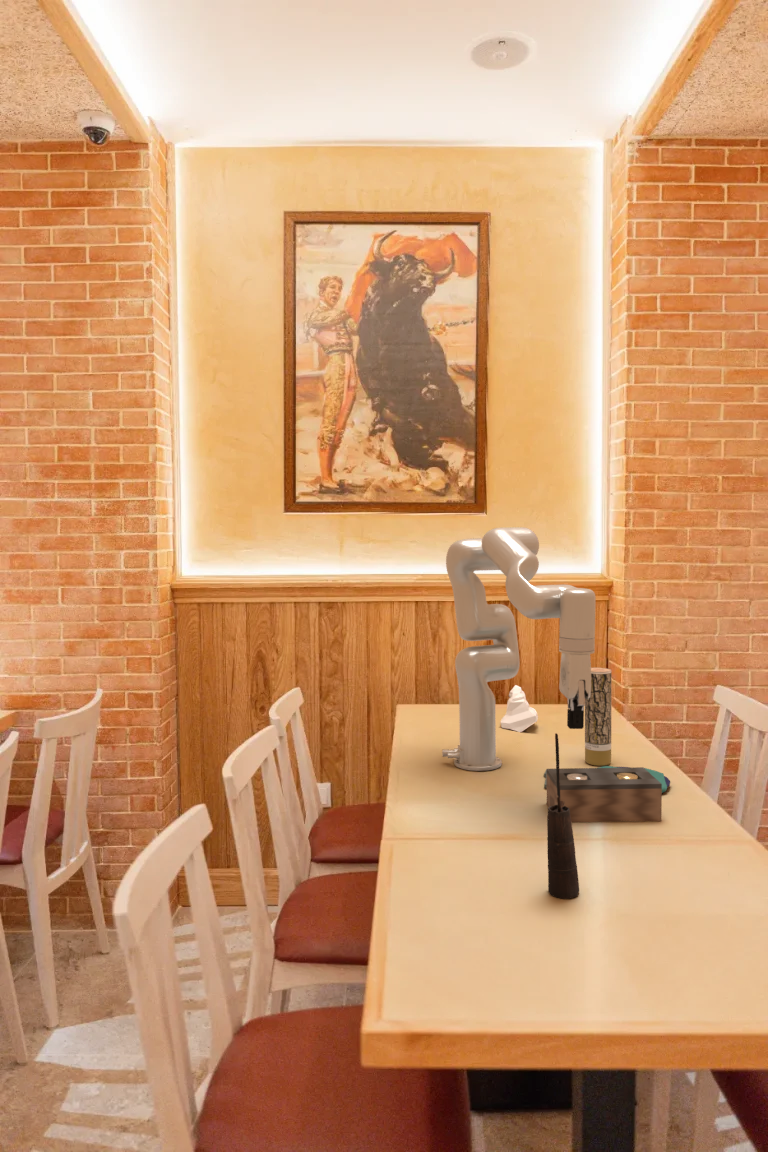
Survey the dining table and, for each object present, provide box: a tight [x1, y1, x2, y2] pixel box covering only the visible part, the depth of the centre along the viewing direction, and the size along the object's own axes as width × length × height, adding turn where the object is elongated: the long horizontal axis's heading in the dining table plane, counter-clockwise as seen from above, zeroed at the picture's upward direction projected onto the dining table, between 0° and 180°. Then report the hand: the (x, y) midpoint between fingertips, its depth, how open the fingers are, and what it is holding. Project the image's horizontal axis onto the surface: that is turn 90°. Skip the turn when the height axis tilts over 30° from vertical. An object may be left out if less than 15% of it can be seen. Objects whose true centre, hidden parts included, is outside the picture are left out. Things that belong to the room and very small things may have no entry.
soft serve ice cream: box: [500, 684, 539, 733], centre depth 254 cm, size 12×15×14 cm
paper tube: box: [584, 667, 612, 767], centre depth 213 cm, size 7×7×25 cm
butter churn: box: [546, 732, 580, 900], centre depth 138 cm, size 9×10×28 cm
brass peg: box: [617, 773, 638, 779], centre depth 177 cm, size 4×4×7 cm
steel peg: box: [567, 774, 587, 780], centre depth 177 cm, size 4×4×7 cm
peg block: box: [546, 766, 663, 823], centre depth 177 cm, size 22×12×8 cm, turn 90°
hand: (575, 727), depth 177 cm, fingers closed
